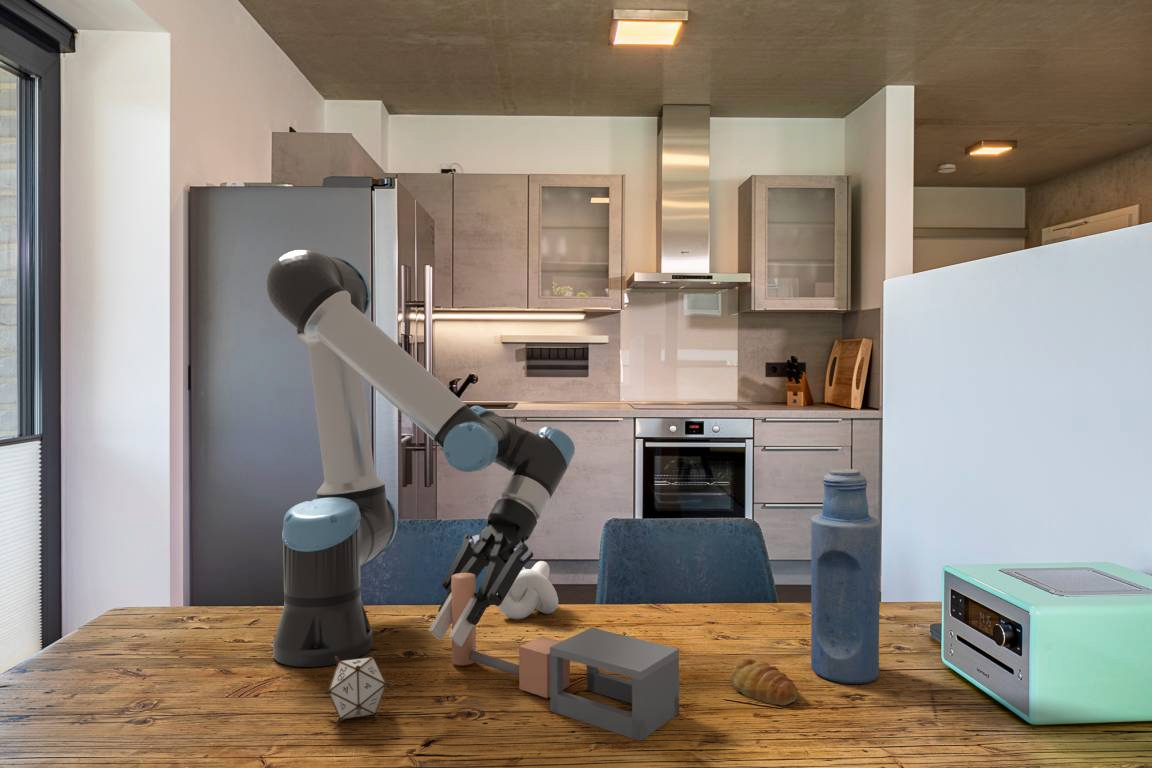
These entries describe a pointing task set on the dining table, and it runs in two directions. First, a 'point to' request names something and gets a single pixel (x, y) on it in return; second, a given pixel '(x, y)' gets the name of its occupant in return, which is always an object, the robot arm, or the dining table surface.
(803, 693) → the dining table surface
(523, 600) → the white knot
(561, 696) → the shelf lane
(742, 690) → the pastry
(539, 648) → the block
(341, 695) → the game die
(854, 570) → the bottle
